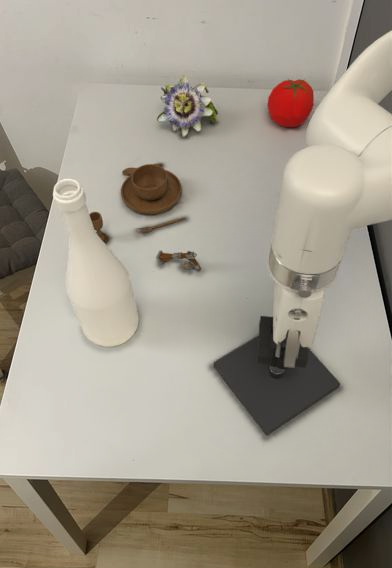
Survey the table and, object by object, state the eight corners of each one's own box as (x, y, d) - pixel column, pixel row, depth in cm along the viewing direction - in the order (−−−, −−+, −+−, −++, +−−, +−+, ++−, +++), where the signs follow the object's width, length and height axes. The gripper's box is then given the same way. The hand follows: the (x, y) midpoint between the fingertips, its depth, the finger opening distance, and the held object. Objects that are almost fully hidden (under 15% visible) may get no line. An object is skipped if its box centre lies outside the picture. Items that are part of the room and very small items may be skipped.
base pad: (282, 324, 83) (284, 314, 81) (338, 387, 78) (343, 378, 75) (213, 366, 80) (213, 356, 77) (266, 435, 74) (268, 428, 71)
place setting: (196, 217, 96) (195, 194, 91) (96, 249, 93) (89, 226, 88) (165, 160, 104) (163, 136, 99) (72, 187, 101) (65, 163, 96)
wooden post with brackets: (203, 273, 88) (192, 255, 85) (166, 273, 92) (155, 256, 89) (206, 265, 89) (196, 247, 86) (170, 266, 93) (159, 249, 90)
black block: (305, 327, 71) (308, 319, 70) (305, 368, 68) (307, 361, 66) (259, 323, 72) (260, 315, 70) (256, 363, 69) (258, 356, 67)
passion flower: (186, 155, 113) (152, 125, 103) (180, 117, 116) (147, 85, 107) (228, 130, 107) (196, 96, 97) (221, 90, 110) (189, 54, 101)
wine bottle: (77, 311, 86) (19, 172, 60) (130, 295, 87) (95, 151, 61) (91, 356, 81) (34, 227, 55) (146, 338, 83) (117, 203, 57)
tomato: (257, 123, 109) (261, 87, 102) (284, 100, 113) (290, 63, 106) (293, 140, 106) (299, 104, 99) (319, 116, 110) (327, 79, 103)
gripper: (341, 329, 49) (310, 402, 65) (337, 202, 58) (310, 294, 73) (265, 322, 50) (252, 396, 65) (272, 198, 58) (259, 289, 74)
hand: (283, 341), depth 69 cm, fingers closed on black block, 6 cm apart
